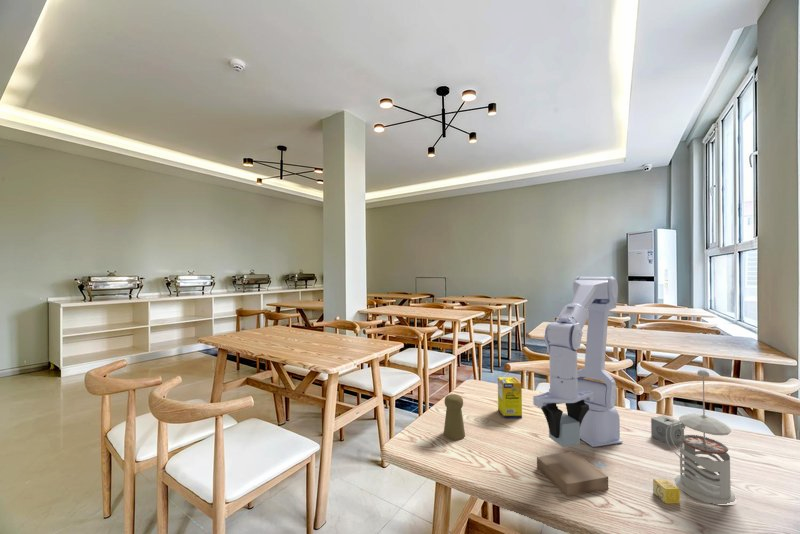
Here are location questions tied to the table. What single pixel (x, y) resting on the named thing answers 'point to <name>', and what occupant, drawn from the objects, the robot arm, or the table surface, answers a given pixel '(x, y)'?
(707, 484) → the french press
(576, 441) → the slate block
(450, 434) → the olive pawn
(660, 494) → the alphabet block
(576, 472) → the walnut block
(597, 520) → the table surface
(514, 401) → the supplement box
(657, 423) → the dice cube
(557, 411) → the robot arm
